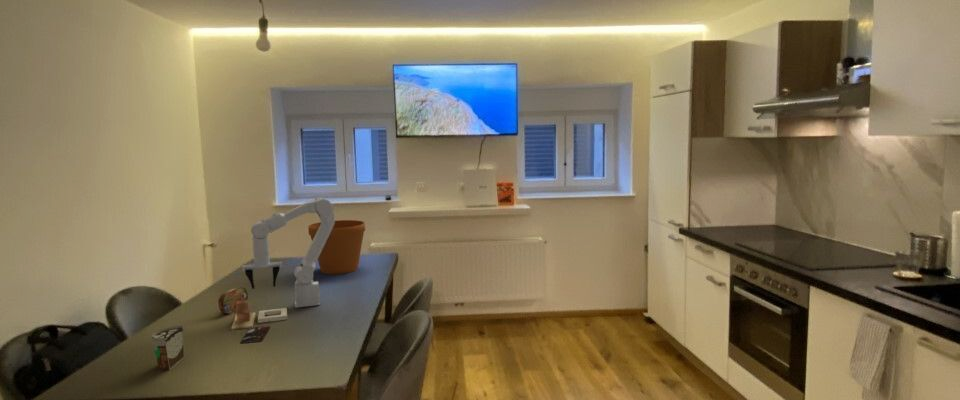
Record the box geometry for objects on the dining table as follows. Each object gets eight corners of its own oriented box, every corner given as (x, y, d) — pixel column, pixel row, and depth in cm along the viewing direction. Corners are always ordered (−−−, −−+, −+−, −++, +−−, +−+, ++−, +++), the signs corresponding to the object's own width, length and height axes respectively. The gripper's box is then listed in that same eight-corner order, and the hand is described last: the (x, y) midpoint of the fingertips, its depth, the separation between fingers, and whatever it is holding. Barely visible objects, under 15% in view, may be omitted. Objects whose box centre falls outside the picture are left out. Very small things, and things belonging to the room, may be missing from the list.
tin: (225, 316, 206) (223, 295, 205) (217, 316, 207) (216, 294, 206) (249, 304, 221) (247, 284, 220) (242, 304, 221) (240, 284, 220)
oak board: (255, 313, 208) (255, 312, 208) (252, 327, 193) (252, 325, 193) (235, 316, 206) (235, 314, 206) (231, 329, 191) (231, 328, 191)
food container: (166, 356, 168) (163, 325, 167) (186, 355, 169) (183, 324, 168) (145, 373, 156) (141, 340, 155) (167, 372, 156) (164, 339, 155)
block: (250, 317, 202) (248, 299, 201) (249, 320, 198) (247, 302, 197) (238, 319, 200) (237, 300, 200) (237, 322, 197) (236, 303, 196)
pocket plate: (287, 311, 210) (286, 307, 210) (286, 319, 201) (286, 315, 200) (259, 314, 207) (259, 311, 206) (258, 323, 197) (257, 319, 197)
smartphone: (239, 343, 177) (249, 327, 192) (239, 345, 177) (249, 329, 192) (262, 341, 178) (270, 325, 193) (262, 343, 178) (271, 327, 193)
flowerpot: (378, 268, 278) (375, 223, 275) (329, 279, 258) (326, 230, 255) (347, 260, 297) (345, 218, 294) (300, 270, 277) (297, 225, 274)
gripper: (240, 257, 203) (243, 292, 205) (281, 253, 208) (283, 287, 210) (241, 253, 210) (244, 287, 211) (281, 249, 215) (283, 283, 216)
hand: (263, 287), depth 211 cm, fingers open, 7 cm apart
